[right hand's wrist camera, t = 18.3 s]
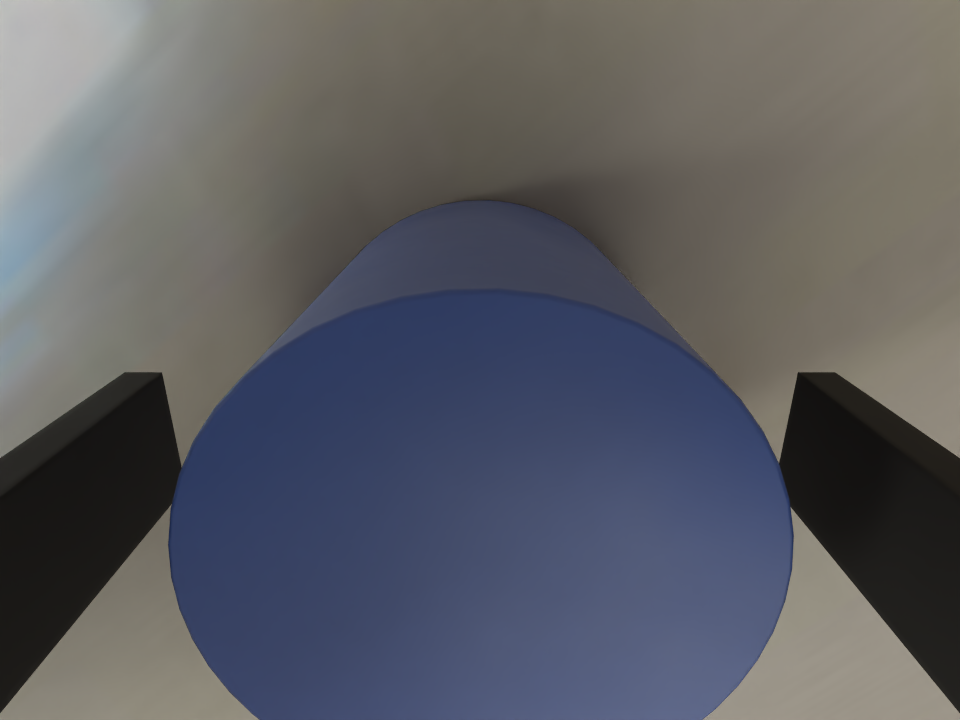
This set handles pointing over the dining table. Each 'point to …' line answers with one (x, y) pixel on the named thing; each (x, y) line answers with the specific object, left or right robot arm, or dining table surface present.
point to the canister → (480, 495)
